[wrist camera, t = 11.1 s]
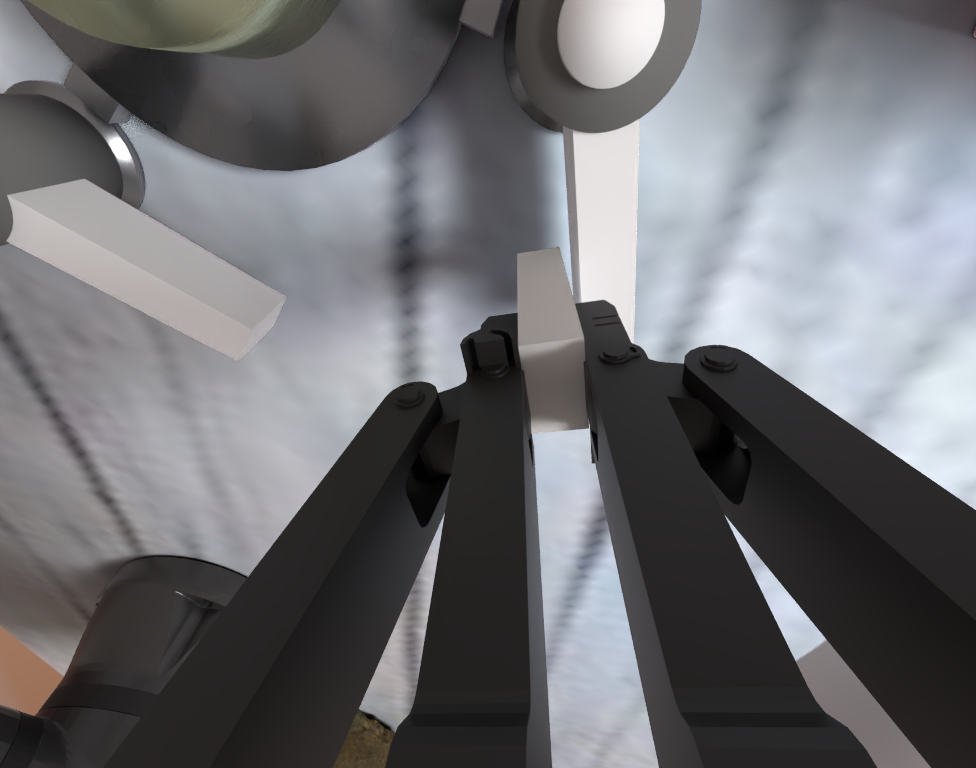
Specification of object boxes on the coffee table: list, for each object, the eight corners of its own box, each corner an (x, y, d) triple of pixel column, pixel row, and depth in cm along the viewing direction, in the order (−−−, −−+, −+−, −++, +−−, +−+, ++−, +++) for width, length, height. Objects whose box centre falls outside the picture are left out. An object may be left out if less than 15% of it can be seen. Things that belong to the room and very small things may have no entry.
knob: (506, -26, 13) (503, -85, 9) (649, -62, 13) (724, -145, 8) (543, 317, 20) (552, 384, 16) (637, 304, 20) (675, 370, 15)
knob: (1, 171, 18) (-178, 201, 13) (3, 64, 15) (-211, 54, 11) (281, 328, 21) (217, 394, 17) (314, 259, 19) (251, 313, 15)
